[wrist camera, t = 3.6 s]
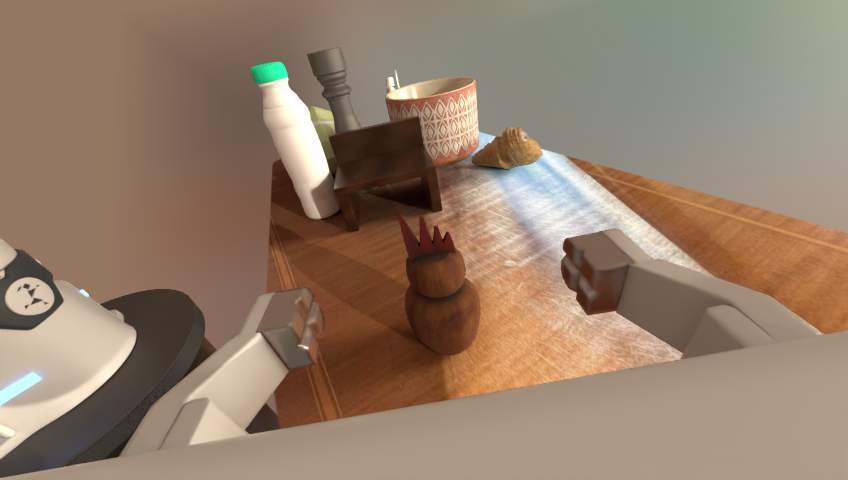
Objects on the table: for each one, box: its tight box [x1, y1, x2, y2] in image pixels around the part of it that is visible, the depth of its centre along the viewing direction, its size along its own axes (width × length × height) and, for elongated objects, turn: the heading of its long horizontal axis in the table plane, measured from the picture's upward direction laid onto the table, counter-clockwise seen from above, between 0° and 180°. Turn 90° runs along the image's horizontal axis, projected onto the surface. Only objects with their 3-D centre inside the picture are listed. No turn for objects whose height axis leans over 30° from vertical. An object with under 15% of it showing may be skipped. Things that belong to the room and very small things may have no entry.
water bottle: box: [251, 62, 341, 219], centre depth 52 cm, size 7×7×25 cm
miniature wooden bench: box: [328, 116, 442, 232], centre depth 52 cm, size 16×12×13 cm
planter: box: [385, 77, 479, 167], centre depth 69 cm, size 19×19×15 cm
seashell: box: [472, 127, 543, 169], centre depth 60 cm, size 14×8×8 cm
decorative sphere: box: [308, 107, 338, 175], centre depth 71 cm, size 15×15×15 cm
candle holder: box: [307, 47, 379, 194], centre depth 58 cm, size 6×6×25 cm
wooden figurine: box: [398, 215, 480, 355], centre depth 27 cm, size 7×6×15 cm
